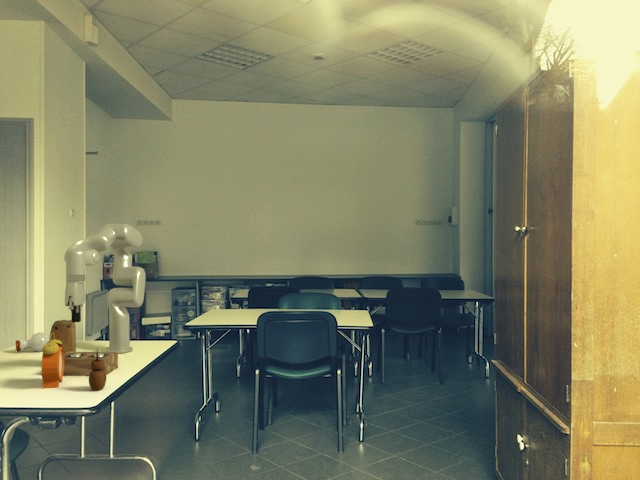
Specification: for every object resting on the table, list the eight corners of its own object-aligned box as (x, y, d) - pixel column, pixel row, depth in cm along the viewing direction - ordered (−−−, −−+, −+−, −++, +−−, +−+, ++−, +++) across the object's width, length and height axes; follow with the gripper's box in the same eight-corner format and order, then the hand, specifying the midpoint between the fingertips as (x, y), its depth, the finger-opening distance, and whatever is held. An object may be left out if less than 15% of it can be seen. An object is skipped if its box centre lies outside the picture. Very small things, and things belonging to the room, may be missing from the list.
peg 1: (73, 369, 234) (73, 352, 233) (82, 369, 233) (82, 353, 233) (68, 371, 230) (68, 355, 229) (78, 371, 229) (78, 355, 229)
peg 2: (96, 369, 233) (96, 353, 233) (105, 369, 233) (105, 353, 233) (92, 371, 229) (92, 355, 229) (101, 371, 229) (101, 355, 229)
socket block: (68, 367, 240) (68, 351, 240) (117, 367, 239) (117, 351, 239) (52, 375, 226) (52, 358, 226) (105, 375, 225) (104, 358, 225)
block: (76, 362, 248) (76, 319, 248) (74, 366, 241) (74, 321, 241) (50, 364, 245) (50, 320, 244) (47, 368, 237) (47, 322, 237)
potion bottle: (51, 353, 272) (18, 359, 268) (52, 339, 280) (20, 344, 275) (47, 341, 267) (13, 346, 263) (49, 327, 274) (15, 332, 270)
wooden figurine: (92, 386, 209) (92, 348, 209) (108, 386, 210) (108, 347, 210) (86, 392, 203) (86, 351, 202) (102, 391, 203) (102, 351, 203)
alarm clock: (58, 388, 207) (58, 336, 207) (40, 389, 205) (40, 337, 205) (64, 379, 220) (64, 330, 219) (47, 380, 218) (47, 330, 218)
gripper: (75, 277, 239) (75, 318, 240) (58, 280, 224) (58, 325, 225) (92, 277, 239) (92, 318, 239) (76, 280, 224) (76, 325, 225)
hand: (76, 321), depth 232 cm, fingers closed
